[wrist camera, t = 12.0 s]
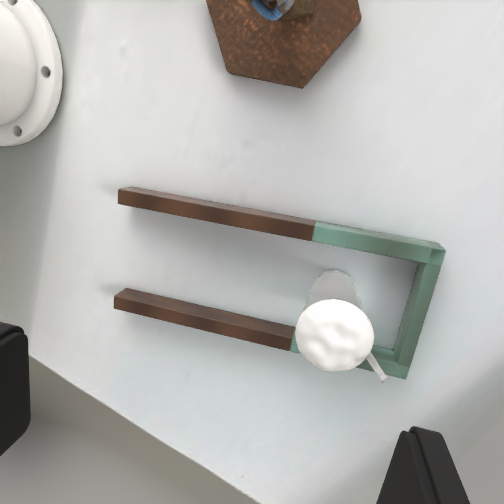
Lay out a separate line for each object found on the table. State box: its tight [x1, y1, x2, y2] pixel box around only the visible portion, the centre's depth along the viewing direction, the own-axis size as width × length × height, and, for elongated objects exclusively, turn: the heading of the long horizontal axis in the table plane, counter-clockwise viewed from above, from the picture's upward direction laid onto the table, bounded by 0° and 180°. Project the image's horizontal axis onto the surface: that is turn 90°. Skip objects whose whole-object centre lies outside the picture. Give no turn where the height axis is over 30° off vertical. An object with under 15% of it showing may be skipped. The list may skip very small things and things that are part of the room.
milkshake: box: [295, 270, 387, 383], centre depth 25 cm, size 4×5×10 cm
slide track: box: [114, 187, 446, 379], centre depth 30 cm, size 24×10×2 cm, turn 82°
